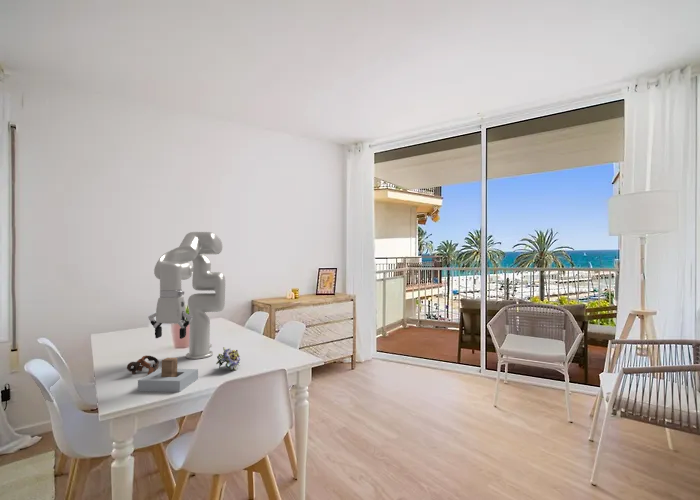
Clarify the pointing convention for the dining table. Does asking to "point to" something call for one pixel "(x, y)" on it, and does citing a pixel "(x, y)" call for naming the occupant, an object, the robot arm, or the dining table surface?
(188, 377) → the well block
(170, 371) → the wood grain block
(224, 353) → the passion flower
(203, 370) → the dining table surface
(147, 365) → the dark brown looped piece
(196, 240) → the robot arm
